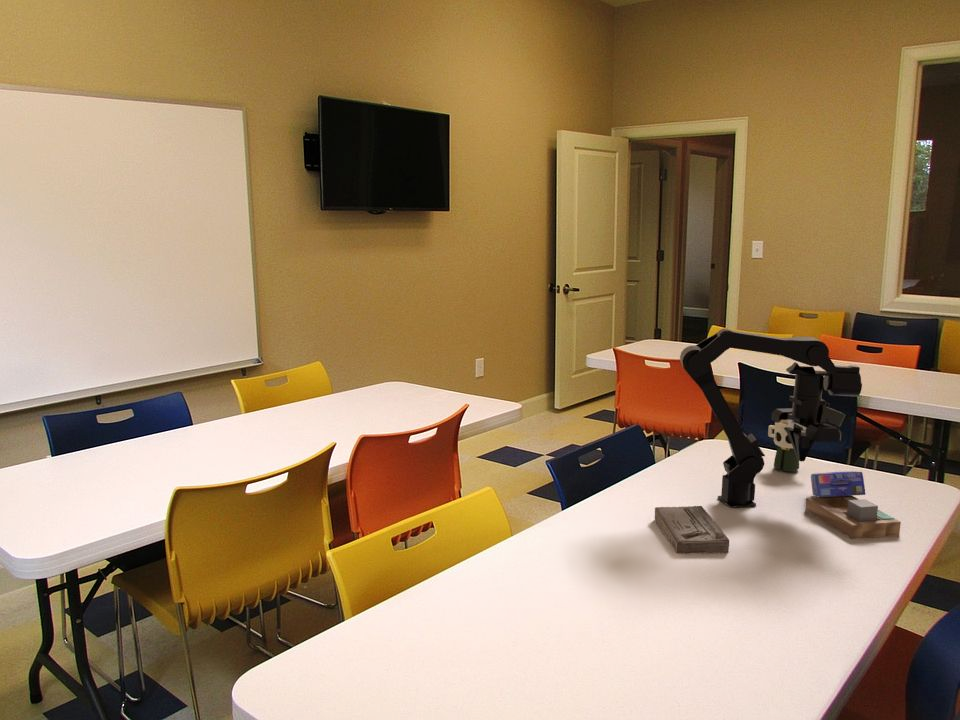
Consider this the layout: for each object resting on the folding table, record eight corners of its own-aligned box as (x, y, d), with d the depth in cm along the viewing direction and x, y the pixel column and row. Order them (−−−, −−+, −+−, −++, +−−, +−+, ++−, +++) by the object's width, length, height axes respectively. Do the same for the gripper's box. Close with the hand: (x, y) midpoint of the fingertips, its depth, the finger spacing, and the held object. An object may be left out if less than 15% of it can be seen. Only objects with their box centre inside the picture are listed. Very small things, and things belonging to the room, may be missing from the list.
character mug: (760, 468, 197) (763, 420, 195) (771, 462, 202) (774, 415, 200) (801, 477, 189) (805, 428, 187) (812, 471, 194) (816, 423, 192)
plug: (858, 534, 154) (861, 507, 153) (845, 527, 158) (848, 500, 157) (875, 533, 155) (878, 505, 154) (862, 525, 159) (864, 499, 158)
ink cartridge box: (854, 469, 175) (865, 471, 161) (858, 493, 174) (869, 497, 160) (809, 472, 178) (816, 474, 164) (812, 495, 177) (819, 499, 163)
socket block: (851, 539, 152) (853, 524, 151) (805, 510, 167) (806, 496, 167) (899, 535, 154) (900, 520, 153) (849, 507, 169) (850, 493, 169)
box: (701, 518, 162) (701, 504, 162) (730, 554, 145) (730, 539, 145) (652, 519, 162) (653, 506, 161) (676, 556, 145) (676, 541, 144)
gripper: (867, 403, 157) (859, 473, 160) (816, 384, 175) (810, 447, 178) (819, 404, 156) (812, 474, 158) (773, 385, 174) (767, 449, 177)
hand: (801, 460), depth 168 cm, fingers closed
